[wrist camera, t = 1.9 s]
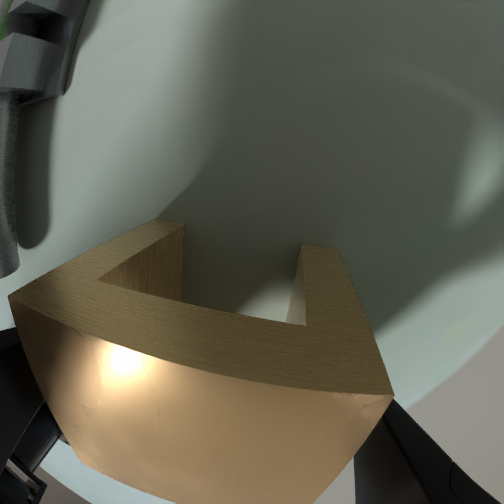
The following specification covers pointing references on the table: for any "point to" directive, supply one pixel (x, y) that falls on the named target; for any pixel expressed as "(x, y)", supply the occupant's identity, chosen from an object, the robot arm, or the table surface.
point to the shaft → (29, 85)
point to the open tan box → (202, 374)
